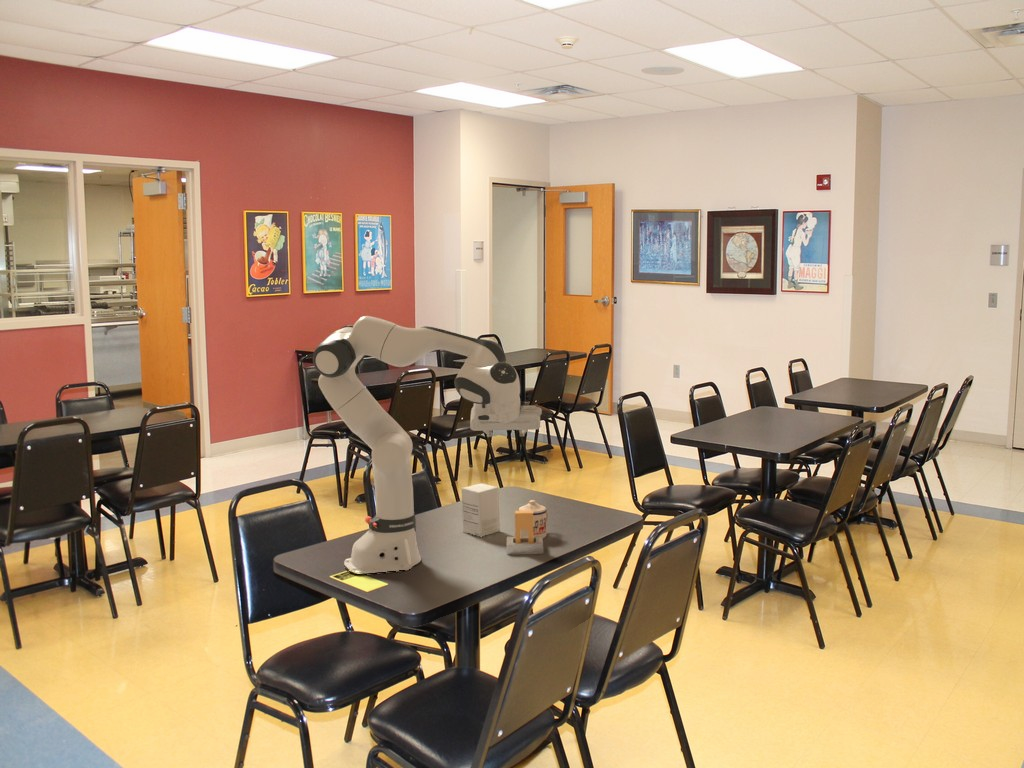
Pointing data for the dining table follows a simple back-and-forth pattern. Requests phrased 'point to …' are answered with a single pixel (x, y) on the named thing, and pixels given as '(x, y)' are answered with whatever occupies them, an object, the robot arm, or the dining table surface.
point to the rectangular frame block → (525, 545)
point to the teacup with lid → (536, 519)
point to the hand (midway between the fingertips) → (505, 434)
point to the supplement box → (480, 509)
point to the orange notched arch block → (524, 524)
